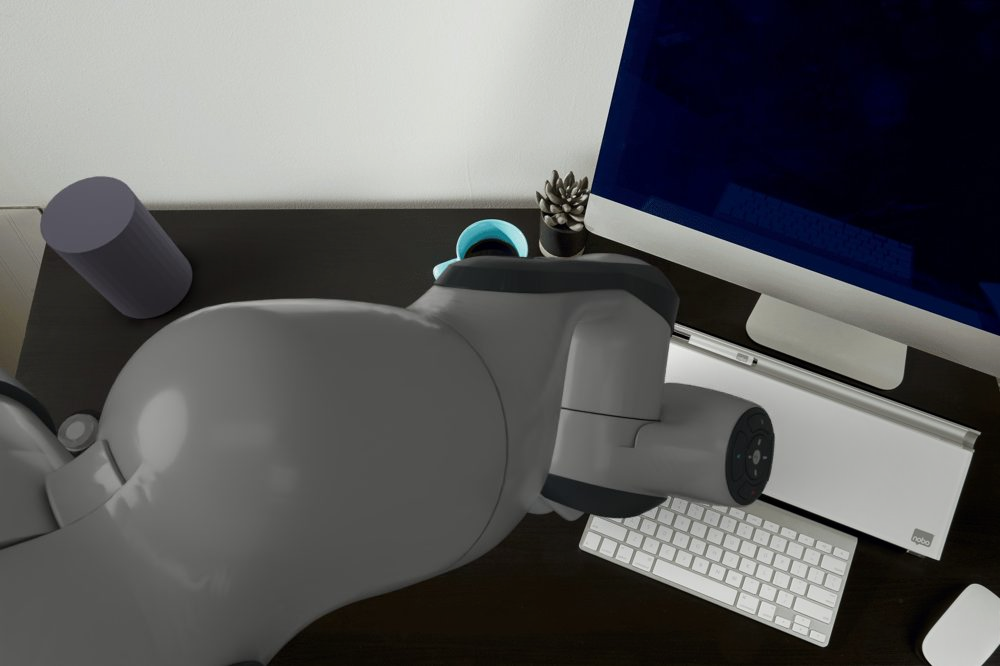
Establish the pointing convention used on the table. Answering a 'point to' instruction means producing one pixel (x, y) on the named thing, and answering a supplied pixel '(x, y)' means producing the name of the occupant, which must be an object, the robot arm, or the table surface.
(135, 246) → the container
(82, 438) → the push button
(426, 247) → the table surface
